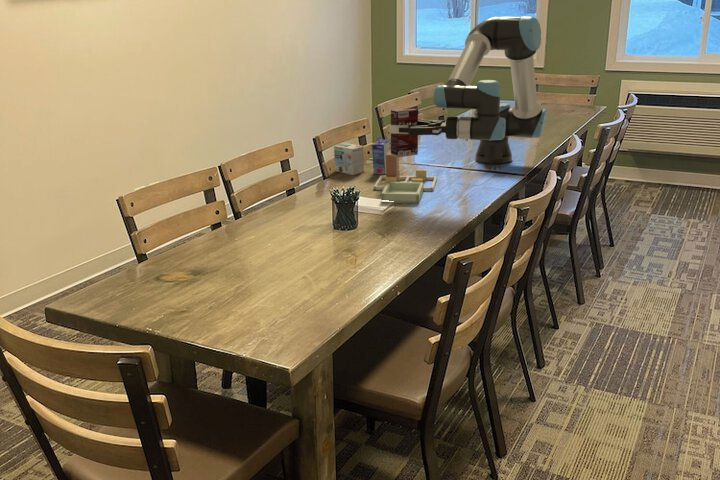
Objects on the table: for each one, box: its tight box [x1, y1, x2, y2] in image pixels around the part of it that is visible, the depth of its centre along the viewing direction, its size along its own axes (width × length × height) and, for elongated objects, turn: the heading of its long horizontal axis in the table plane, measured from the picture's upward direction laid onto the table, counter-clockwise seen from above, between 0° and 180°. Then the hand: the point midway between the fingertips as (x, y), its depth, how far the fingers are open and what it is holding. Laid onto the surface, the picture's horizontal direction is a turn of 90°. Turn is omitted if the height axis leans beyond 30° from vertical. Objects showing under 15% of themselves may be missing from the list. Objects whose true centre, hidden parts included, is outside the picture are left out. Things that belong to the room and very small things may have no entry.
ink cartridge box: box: [371, 134, 391, 175], centre depth 275 cm, size 10×6×14 cm, turn 161°
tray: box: [380, 181, 424, 204], centre depth 242 cm, size 13×15×3 cm
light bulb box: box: [333, 142, 365, 176], centre depth 277 cm, size 11×7×11 cm, turn 47°
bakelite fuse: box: [385, 151, 400, 182], centre depth 256 cm, size 4×6×12 cm, turn 169°
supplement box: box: [390, 107, 419, 159], centre depth 236 cm, size 9×5×16 cm, turn 118°
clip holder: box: [373, 169, 438, 192], centre depth 257 cm, size 22×16×4 cm
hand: (393, 126), depth 236 cm, fingers closed on supplement box, 9 cm apart
